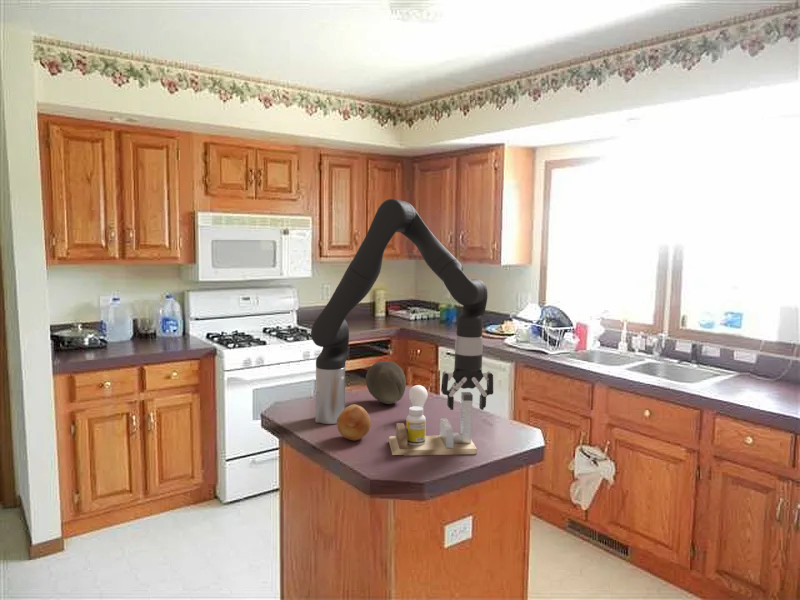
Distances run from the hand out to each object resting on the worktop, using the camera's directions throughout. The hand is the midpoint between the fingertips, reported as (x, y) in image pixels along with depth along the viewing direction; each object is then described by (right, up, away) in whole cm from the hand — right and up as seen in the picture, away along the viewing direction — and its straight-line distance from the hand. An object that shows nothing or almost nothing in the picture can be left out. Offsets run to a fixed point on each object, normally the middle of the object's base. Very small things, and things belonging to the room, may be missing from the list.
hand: (466, 409), depth 161 cm
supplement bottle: (-14, -9, -1) cm, 17 cm away
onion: (-32, -10, +6) cm, 34 cm away
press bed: (-10, -11, 0) cm, 14 cm away
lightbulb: (-13, -8, +26) cm, 30 cm away
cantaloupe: (-24, -6, +43) cm, 49 cm away
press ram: (-3, -9, +1) cm, 10 cm away
